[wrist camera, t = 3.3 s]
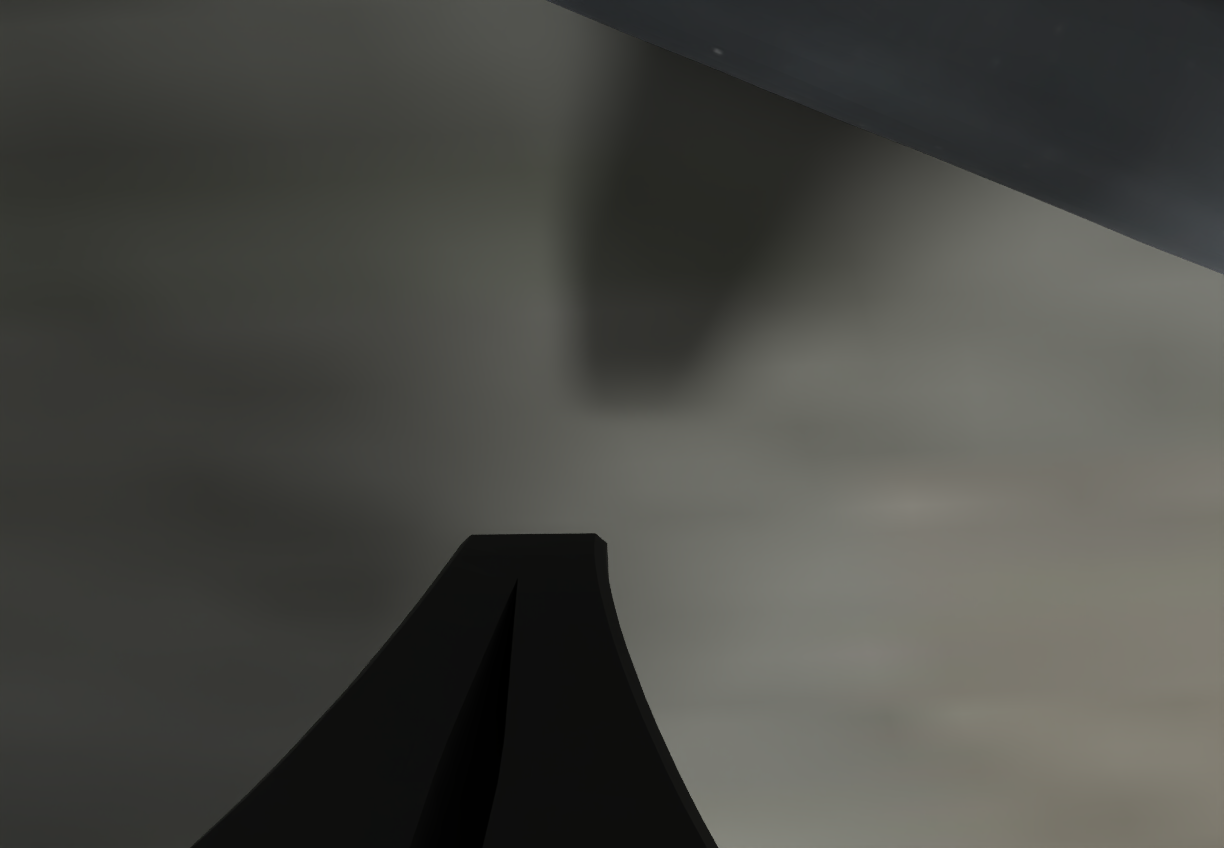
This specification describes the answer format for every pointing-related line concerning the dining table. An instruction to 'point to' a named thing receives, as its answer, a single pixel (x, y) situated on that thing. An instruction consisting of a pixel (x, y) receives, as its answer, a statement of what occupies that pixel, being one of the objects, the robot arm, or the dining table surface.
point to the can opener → (997, 91)
